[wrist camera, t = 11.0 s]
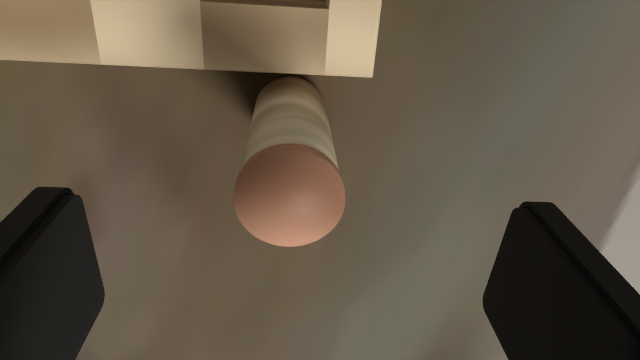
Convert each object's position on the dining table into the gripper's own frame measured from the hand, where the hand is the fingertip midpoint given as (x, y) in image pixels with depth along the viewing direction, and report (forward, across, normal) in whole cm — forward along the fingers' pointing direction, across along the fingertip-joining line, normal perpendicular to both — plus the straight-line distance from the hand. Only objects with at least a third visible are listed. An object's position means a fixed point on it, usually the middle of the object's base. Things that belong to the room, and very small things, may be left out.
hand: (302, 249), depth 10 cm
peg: (+11, 0, +1) cm, 11 cm away
